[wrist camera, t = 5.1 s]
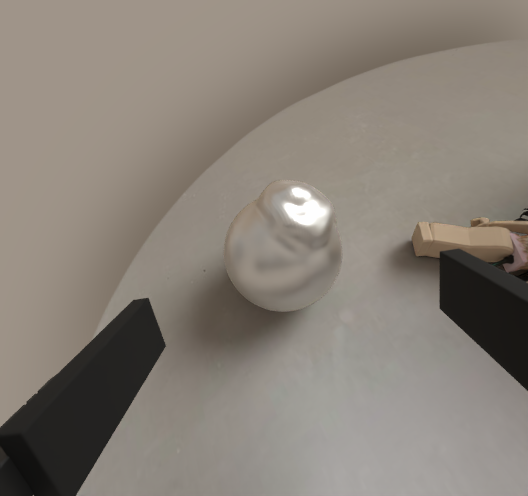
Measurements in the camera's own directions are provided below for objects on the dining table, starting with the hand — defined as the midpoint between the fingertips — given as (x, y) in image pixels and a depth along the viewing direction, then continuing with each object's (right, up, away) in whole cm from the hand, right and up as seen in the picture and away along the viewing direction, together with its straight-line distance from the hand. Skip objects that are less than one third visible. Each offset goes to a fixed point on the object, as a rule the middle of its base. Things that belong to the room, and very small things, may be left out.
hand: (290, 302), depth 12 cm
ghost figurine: (+1, 0, +12) cm, 13 cm away
